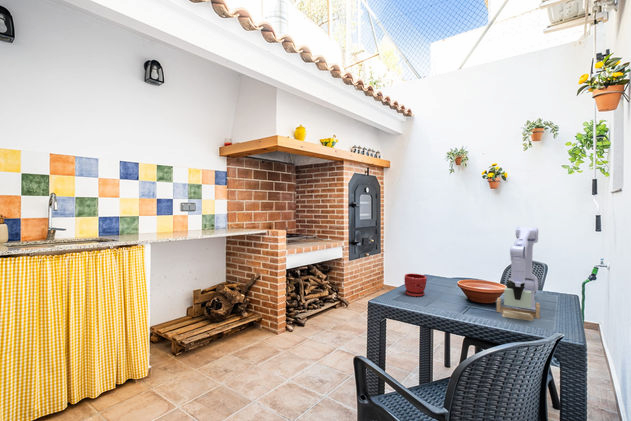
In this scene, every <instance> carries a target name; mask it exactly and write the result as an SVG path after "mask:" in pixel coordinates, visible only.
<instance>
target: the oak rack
mask: <svg viewBox="0 0 631 421" xmlns="http://www.w3.org/2000/svg"><path fill="white" fill-rule="evenodd" d="M535 309H536V310H530V309H523V308H515V307H508V306H502V298H501V297H497V298H496V313H501V314H502V313H503V310H508V311H515V312H523V313H530V314H531V316H533V319H537V320H538V319H541V318H540V314H541V305H540V302H535Z"/></svg>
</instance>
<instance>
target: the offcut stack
mask: <svg viewBox="0 0 631 421" xmlns="http://www.w3.org/2000/svg"><path fill="white" fill-rule="evenodd" d="M501 315H502V317H503V318H511V319H517V320H525V321H531V322H533V321H534V318H533V316H531V314H530V313H523V312H515V311H508V310H503V313H501Z"/></svg>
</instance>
